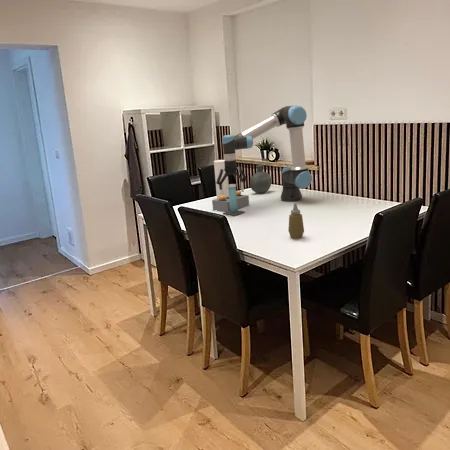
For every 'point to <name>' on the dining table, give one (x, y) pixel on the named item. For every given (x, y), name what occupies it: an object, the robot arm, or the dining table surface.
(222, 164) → the cylinder container
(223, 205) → the block
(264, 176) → the flask
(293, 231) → the squeeze bottle
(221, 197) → the plunger
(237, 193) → the plunger
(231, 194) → the block
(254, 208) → the dining table surface
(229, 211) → the mat
